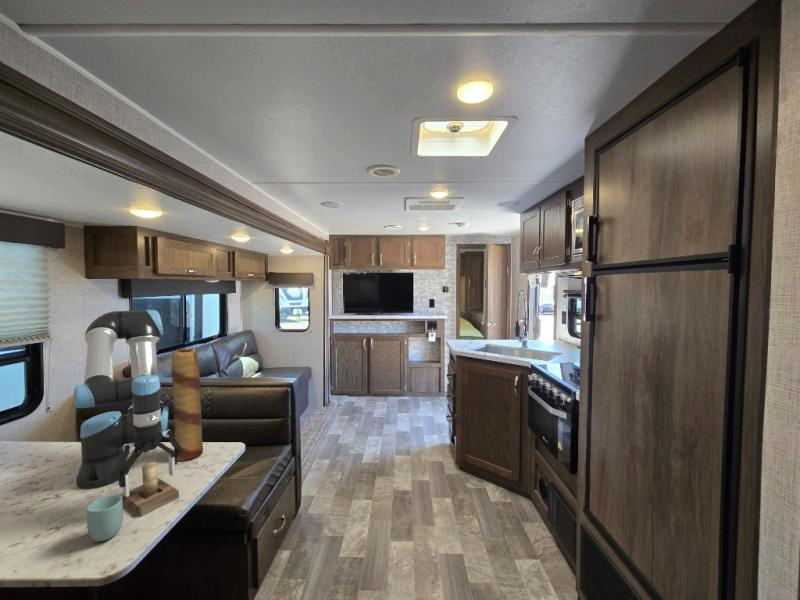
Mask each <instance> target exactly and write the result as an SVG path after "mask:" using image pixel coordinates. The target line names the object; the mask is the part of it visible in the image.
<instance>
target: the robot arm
mask: <svg viewBox="0 0 800 600" xmlns="http://www.w3.org/2000/svg"><path fill="white" fill-rule="evenodd" d="M163 335H164V329H163V323H162V318H161V315H160V313H159V311H157V310H155V309H139V310H137V309H136V310H113V311H110V312H105V313H103V314H101V315H99V316H98V317H97V318H96V319H94V320H93V321H91V323H90V324H89V325H88V327H87V328H86V330H85V333H84V341H85V343H86V344H87V348H86V349H87V350H86V356H85V357H86V359H85V371H84V378H83V379H84V381H83V384H80V385H79V384H78V385H76V386H75V388H74V391H73V399H74V407H75V408H77V409H86V408H87V409H88V408H94V407H99V406H106V405H111V404H117V403H123V402H130V401H131V402H132V404H131V405H130V407H128V409H127V412H128V413H125V414H122V413H121V411H119V410H115V411H113V410H112V411H108V412H104V413H101V414H98V415H95V416H91V417H90V418H89V419H86V420H85V421H83V422H82V424H81V425H80V435H79V438H80V447H81V448H80V450H81V465H80V467H79V470H78V473H77V476H76V478H75V480H76V481H75V482H76V487H77V488H79V489H82V490H88V489H97V488H101V487H102V488H103V487H105V486H108V485H111V484H113V483H116V482H117V481H118V486H119V487H120V488H122V494H123V495H124V496H126V497H128V496H129V491H130V484H129V482H130V481H129V478H130V477H129V475H128V474H129V473H130V470H131V469H132V467H133V466H134V464H135V463H136V462H137V460H138V459H139V458H140V457H141V456H142V454H143V453H145V454H146V453H148V452H150V451H154V450H156V449H157V447H158V448H160V449H161V450H163V451H164V452H166V453H167V454H169V455H168V456H167V457H168V475H170V476H172V477H175V476H176V466H177V465H178V460H177V457H178V456H179V453H181V452H183V449H182V448H181V446H180V445H179V444H178V442H177V441H176V440H175V438H174V433H173V431H172V430H170V429H168V422H169V406H167V405H165V403H164V401H162V400H161V382H160V377H159V376H158V375H159V374H158V363H157V362H158V361H157V346H156V344H157V343H158V342H159V341H160V337H161V336H163ZM117 340H125V343H126V344H127V345H128V346H130V366H131V367H130V370H131V378H123V379H116V380H114V345H115V342H116V341H117ZM163 438H166V439H167V440H168V441H169V443H170V444H171V446H172V447H173V449H174V448H175V450H173V449H172V448H170V447H168V446H167V445H165V444H164V443H162V442H161V441H162V439H163ZM133 448H134V449H133ZM132 449H133V451H132ZM130 451H132V452H131V454H130ZM129 454H130V455H129ZM128 457H129V458H128Z"/></svg>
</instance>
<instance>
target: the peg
mask: <svg viewBox="0 0 800 600" xmlns="http://www.w3.org/2000/svg"><path fill="white" fill-rule="evenodd" d="M141 469H142V470H141V471H142V472H141V473H142V485H143V497H144V499H147V498H149V497H151V496H153V495H155V494H158V462H156V461H152V462H151V461H150V462H148V463H145V464H143V465H142V466H141Z"/></svg>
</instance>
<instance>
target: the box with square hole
mask: <svg viewBox="0 0 800 600" xmlns="http://www.w3.org/2000/svg"><path fill="white" fill-rule="evenodd" d="M157 479H158V494H155V495H153V496H151V497H149V498H147V499H144V497H143V484H142V485H140V486H138V487H136V488H133V489H131V490H130V489H129V496H128V497H126V496H124V495H123V493H122V494H121V497H122V500H123V504H125V505H126V504H127V505H126V506H128V507H129V508H130V507H131V508H130V509H131V510H133V511H134V512H135V511H136V513H137V514H138V515H139V514H140V515H139V516H140V517H144V516H145V515H148V514H149V513H151V512H153V511H155V510H157V509H159V508H161V507H163V506H165V505H167V504H169V503H171V502H173V501H175V500H177V499H179V498H180V490H179V489H177V488H176V487H174V486H172V485H171V484H169V483H167V482H166V481H164V480H163V479H161V478H158V477H157Z"/></svg>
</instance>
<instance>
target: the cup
mask: <svg viewBox="0 0 800 600" xmlns="http://www.w3.org/2000/svg"><path fill="white" fill-rule="evenodd" d="M85 512H86V516H85V517H86V527H87V533H88V536H89V539H90V540H91V541H94V542H97V543H98V542H99V543H101V542H104V541H105V542H106V541H108V540H110V539H113V538H114V537H115V536H116V535H117V534H118V533H120V530H121V528H122V525H123V522H124V521H123V520H124V502H123V500H122V495H119V494H112V495H111V494H110V495H105V496H103V497H100V498H97V499H96V500H94V501H93V502H91V503H90V504H89V505H88V506H87V507H86V511H85Z"/></svg>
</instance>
